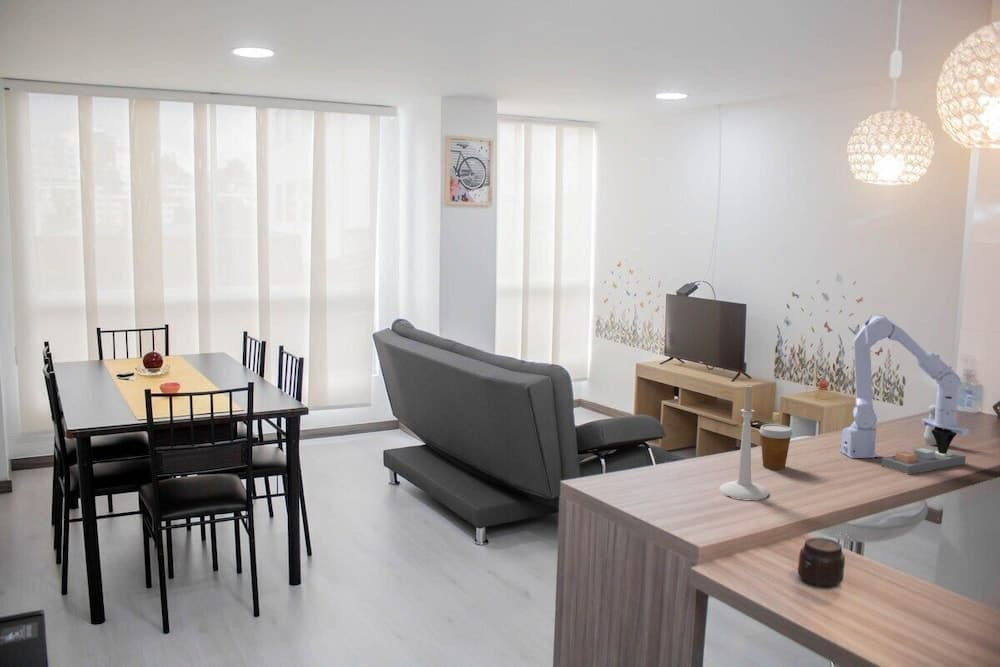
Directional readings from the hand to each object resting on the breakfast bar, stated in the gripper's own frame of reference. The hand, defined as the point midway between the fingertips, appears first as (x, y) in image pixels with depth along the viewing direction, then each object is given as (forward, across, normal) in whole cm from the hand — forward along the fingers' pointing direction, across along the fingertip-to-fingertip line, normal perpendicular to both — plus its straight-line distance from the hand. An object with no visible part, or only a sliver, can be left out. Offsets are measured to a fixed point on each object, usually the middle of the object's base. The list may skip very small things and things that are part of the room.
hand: (942, 452), depth 254 cm
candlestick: (+3, +3, +75) cm, 75 cm away
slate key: (+1, 0, +8) cm, 8 cm away
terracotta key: (+1, 0, +16) cm, 16 cm away
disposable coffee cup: (+3, +18, +50) cm, 54 cm away
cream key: (+2, 0, 0) cm, 2 cm away
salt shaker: (+3, +15, -16) cm, 22 cm away
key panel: (+3, 0, +8) cm, 8 cm away
